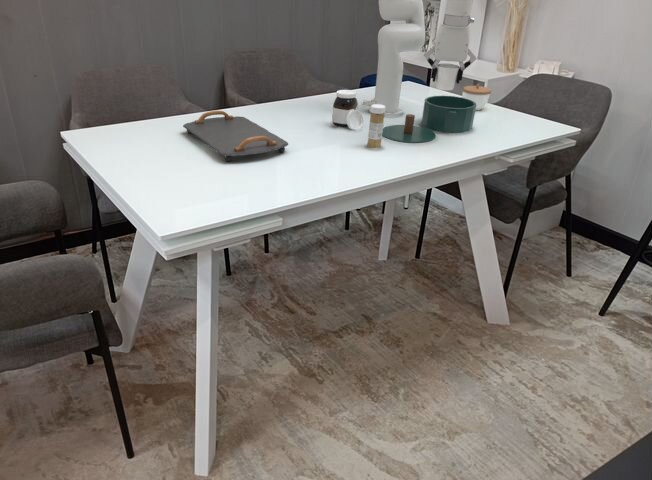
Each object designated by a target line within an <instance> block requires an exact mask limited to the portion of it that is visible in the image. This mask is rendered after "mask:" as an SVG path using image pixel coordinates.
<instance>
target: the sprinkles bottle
mask: <svg viewBox="0 0 652 480" xmlns="http://www.w3.org/2000/svg"><path fill="white" fill-rule="evenodd" d="M370 107H371V109H370V108H369V109H370V111H369V113H370V112H371V113H370V118H369V124H368V135H367V145H366V147H368V148H370V149H380V148H382V139H383V136H382V133H383V128H384V124H385V123H384V122H385V121H384V119H385V115H384V114H385V106H384V105H381V104H374V105H371V106H370Z"/></svg>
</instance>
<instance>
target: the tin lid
mask: <svg viewBox="0 0 652 480" xmlns="http://www.w3.org/2000/svg"><path fill="white" fill-rule="evenodd" d="M415 118H416V115H415V114H412V113H408V114H405V119H404V124H393V125H387V126H383V133H382V137H384V138H385V139H388V140H391V141H394V142H398V143H399V142H400V143H406V144H423V143H424V144H425V143H428V142H432V141H434V140H435V139H436V133H435V131H433V130H430V129H427V128H425V127H424V126H418V125H415Z"/></svg>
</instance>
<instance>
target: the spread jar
mask: <svg viewBox="0 0 652 480" xmlns="http://www.w3.org/2000/svg"><path fill="white" fill-rule="evenodd" d="M358 107H359V102H358V99H357V92H356V91H355V90H351V89H339V90H337V91H336V97H335V99H334V100H333V104H332V115H331V122H332V124H333V125H334V126H335V127H337V128H339V127H341V128H348V129H349V130H351V131H357V130H361V129H362V127H363V125H364V116H363V114H362V112H361V111H359V110H358V109H359V108H358Z"/></svg>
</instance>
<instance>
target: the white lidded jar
mask: <svg viewBox="0 0 652 480" xmlns="http://www.w3.org/2000/svg"><path fill="white" fill-rule="evenodd" d="M491 93H492V89H491V88H489V87H486V86H481V85H480V84H479V83H477V84H476V85H466V86H463V88H462V94H461V97H462V98H466V99H469V100H472V101H474V102H475V103H476V110H475V111H481V110H482V109H483V108H484V107H486V105H487V104H488V102H489V100H490V96H491Z"/></svg>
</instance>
